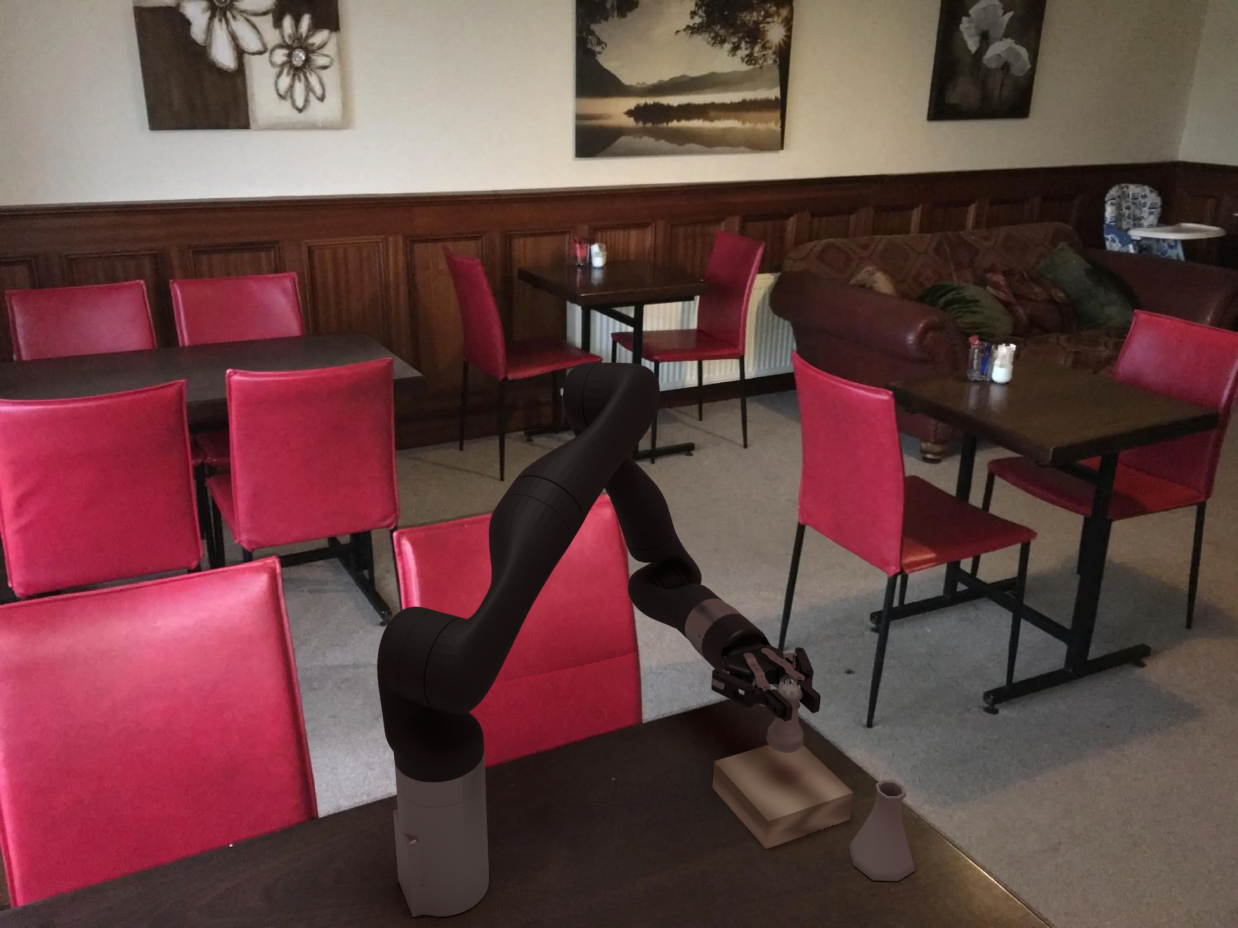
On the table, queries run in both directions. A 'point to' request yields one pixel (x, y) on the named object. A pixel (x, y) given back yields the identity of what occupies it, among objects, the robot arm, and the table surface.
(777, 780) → the maple plinth
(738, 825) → the table surface
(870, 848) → the flask
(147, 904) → the table surface
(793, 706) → the rook chess piece
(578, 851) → the table surface
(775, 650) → the robot arm
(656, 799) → the table surface
